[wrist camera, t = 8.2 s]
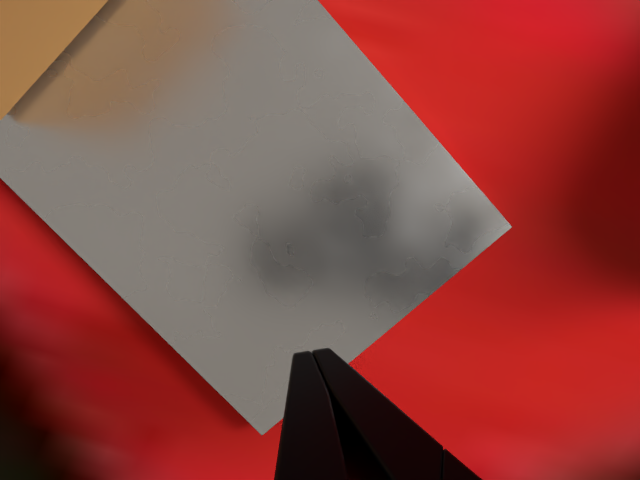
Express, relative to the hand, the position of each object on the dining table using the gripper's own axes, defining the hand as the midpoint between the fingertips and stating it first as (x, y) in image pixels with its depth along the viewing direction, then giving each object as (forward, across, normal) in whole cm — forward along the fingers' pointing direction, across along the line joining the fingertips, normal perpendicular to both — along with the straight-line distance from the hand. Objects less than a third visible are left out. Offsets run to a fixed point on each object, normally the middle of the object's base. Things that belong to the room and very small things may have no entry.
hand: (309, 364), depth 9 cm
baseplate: (+12, +2, -3) cm, 12 cm away
